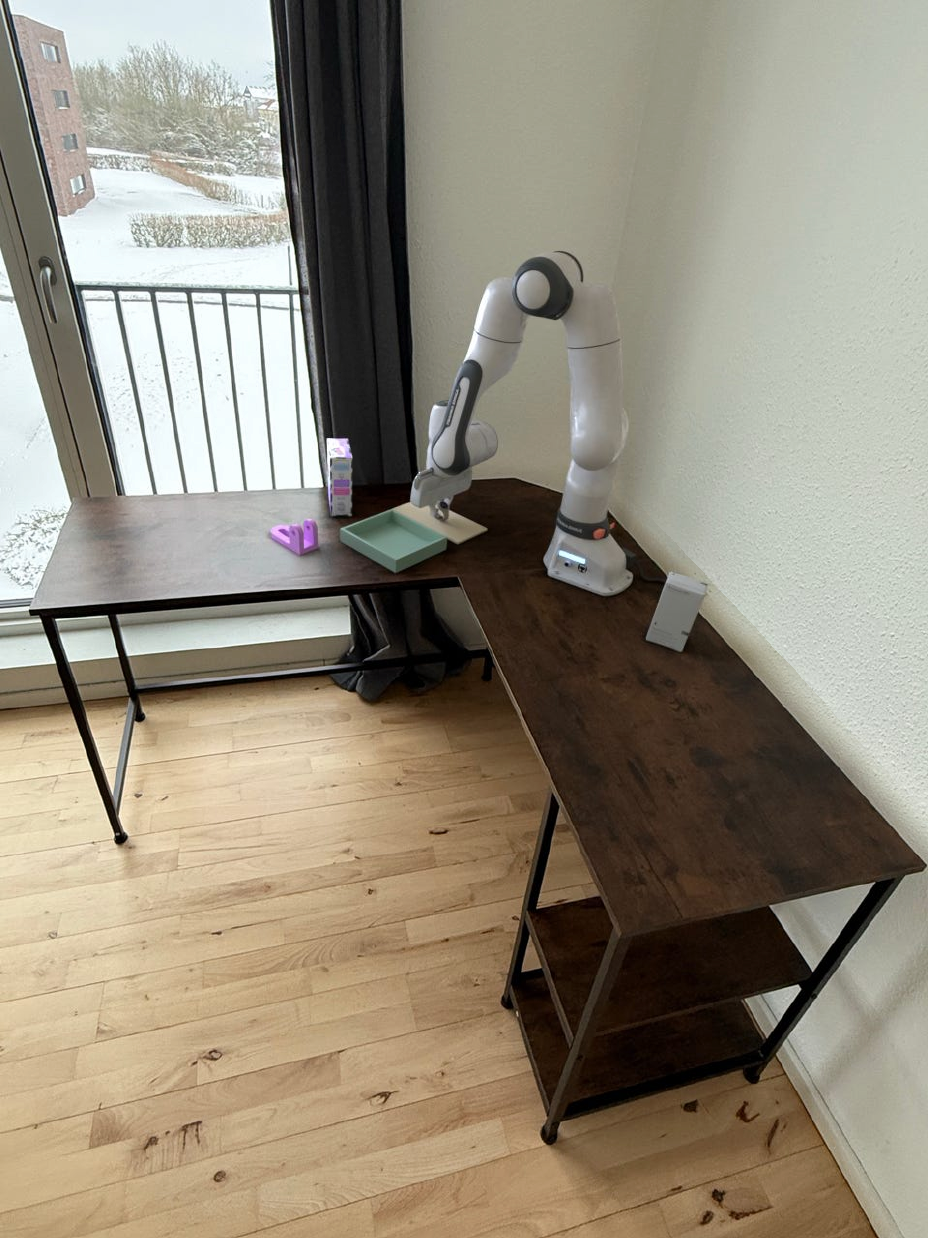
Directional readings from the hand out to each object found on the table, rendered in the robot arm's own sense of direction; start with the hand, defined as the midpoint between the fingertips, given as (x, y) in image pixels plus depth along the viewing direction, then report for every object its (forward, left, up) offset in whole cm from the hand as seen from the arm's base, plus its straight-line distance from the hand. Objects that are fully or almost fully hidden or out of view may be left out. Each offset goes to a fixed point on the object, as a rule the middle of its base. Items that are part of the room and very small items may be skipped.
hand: (439, 512), depth 178 cm
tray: (-2, +19, -2) cm, 19 cm away
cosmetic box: (-69, +2, -2) cm, 69 cm away
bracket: (+15, +37, -2) cm, 40 cm away
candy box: (+23, +15, -2) cm, 27 cm away
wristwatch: (0, 0, -2) cm, 2 cm away
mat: (0, 0, -2) cm, 2 cm away
